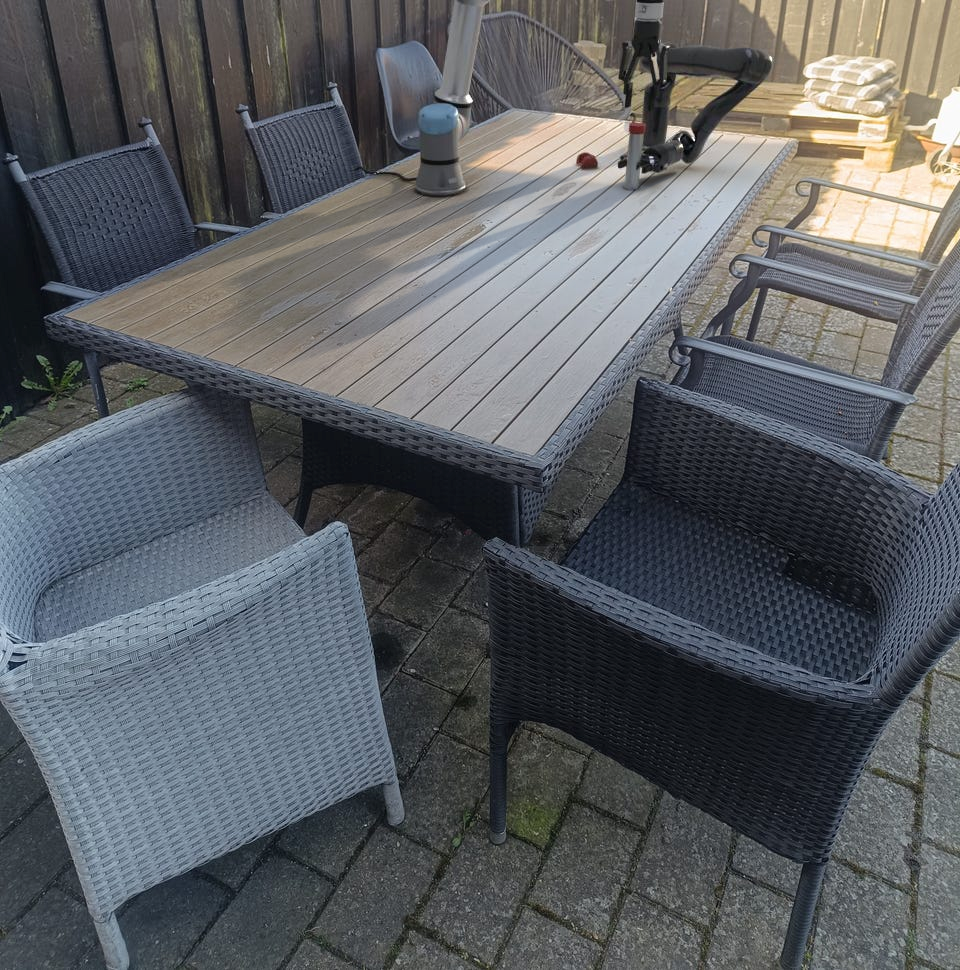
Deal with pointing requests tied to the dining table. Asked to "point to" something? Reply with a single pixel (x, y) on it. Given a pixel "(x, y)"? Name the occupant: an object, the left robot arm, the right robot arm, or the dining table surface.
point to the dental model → (587, 160)
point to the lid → (637, 128)
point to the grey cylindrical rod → (633, 161)
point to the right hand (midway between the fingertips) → (630, 167)
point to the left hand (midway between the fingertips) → (639, 108)
